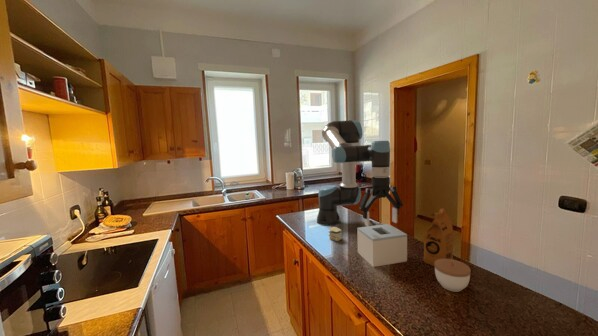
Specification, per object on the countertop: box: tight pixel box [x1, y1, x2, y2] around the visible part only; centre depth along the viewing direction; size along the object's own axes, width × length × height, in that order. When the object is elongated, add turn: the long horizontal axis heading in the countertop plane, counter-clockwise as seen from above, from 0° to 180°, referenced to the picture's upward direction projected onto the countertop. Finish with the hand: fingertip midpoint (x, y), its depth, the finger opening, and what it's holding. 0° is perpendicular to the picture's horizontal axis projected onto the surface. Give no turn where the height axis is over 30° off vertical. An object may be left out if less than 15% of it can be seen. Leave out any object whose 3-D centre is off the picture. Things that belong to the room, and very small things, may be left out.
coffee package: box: [423, 208, 454, 267], centre depth 102 cm, size 10×12×22 cm
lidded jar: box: [434, 258, 472, 293], centre depth 85 cm, size 11×11×9 cm
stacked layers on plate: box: [328, 226, 343, 242], centre depth 132 cm, size 10×9×6 cm
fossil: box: [363, 219, 377, 227], centre depth 134 cm, size 11×9×10 cm
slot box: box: [356, 223, 408, 268], centre depth 109 cm, size 14×16×12 cm
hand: (381, 223), depth 108 cm, fingers open, 13 cm apart
